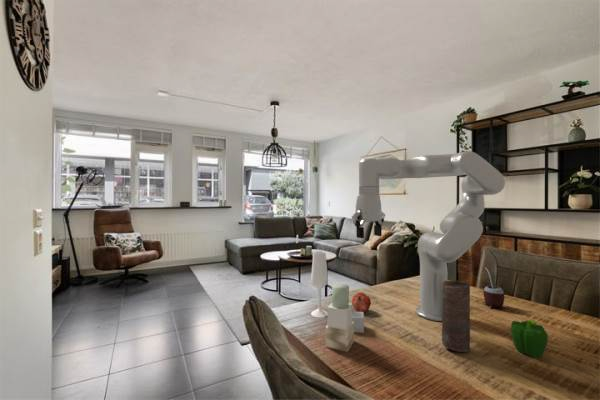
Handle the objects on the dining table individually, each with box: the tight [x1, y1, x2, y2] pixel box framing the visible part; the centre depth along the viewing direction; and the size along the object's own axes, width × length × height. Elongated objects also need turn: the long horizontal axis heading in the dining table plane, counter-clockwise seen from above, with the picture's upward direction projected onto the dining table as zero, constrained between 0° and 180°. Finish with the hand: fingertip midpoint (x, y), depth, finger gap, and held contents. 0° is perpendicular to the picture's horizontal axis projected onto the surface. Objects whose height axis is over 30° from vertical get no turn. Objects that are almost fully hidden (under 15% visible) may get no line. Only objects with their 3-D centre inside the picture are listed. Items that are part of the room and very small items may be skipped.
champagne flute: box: [310, 250, 329, 318], centre depth 108 cm, size 7×7×24 cm
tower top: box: [326, 302, 353, 331], centre depth 86 cm, size 6×6×6 cm
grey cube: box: [352, 310, 365, 334], centre depth 96 cm, size 5×5×5 cm
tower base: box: [324, 322, 355, 353], centre depth 86 cm, size 7×7×6 cm
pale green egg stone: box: [331, 282, 350, 309], centre depth 86 cm, size 5×5×6 cm
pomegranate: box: [351, 292, 372, 313], centre depth 111 cm, size 7×7×10 cm
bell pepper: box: [510, 319, 549, 358], centre depth 81 cm, size 8×8×10 cm
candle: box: [441, 279, 471, 353], centre depth 83 cm, size 8×7×20 cm
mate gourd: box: [483, 267, 506, 310], centre depth 115 cm, size 8×8×15 cm
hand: (369, 236), depth 106 cm, fingers open, 9 cm apart
